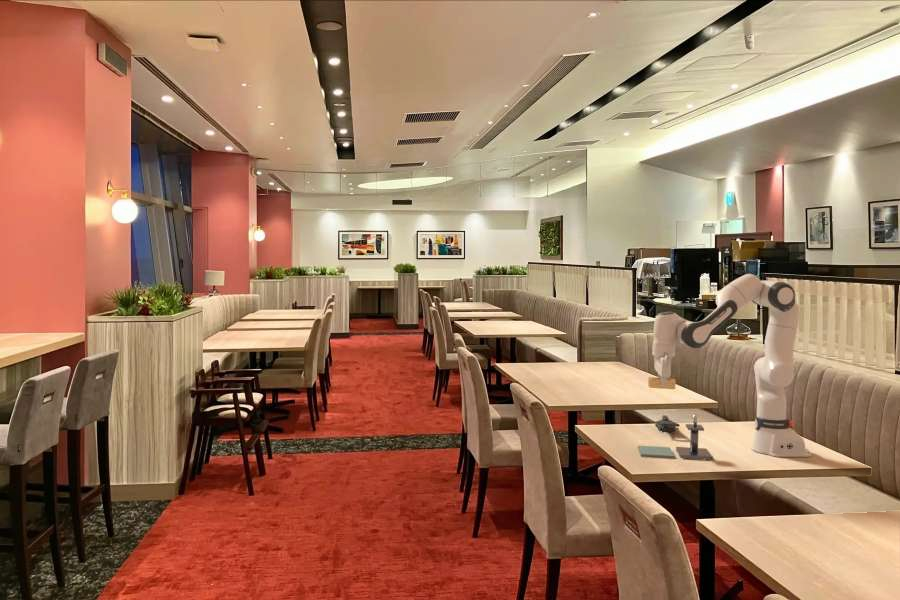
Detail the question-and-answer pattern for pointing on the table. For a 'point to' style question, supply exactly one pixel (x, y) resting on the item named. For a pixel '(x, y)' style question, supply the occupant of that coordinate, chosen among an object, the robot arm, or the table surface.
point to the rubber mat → (656, 451)
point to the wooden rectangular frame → (656, 382)
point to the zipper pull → (666, 424)
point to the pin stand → (694, 444)
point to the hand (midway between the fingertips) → (661, 385)
